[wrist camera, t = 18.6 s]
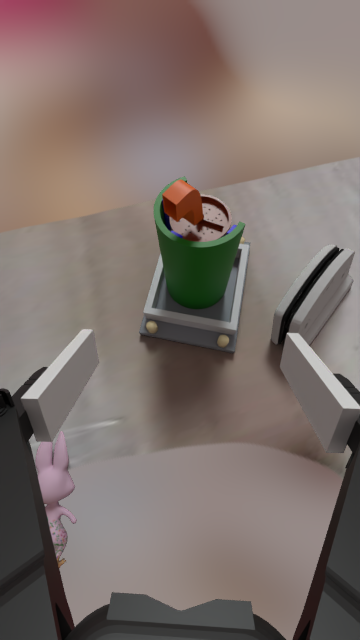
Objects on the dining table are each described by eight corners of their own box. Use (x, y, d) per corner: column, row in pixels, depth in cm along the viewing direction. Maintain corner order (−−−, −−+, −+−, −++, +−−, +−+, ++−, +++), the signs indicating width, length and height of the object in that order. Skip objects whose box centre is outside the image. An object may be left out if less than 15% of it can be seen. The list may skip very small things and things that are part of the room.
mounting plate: (140, 334, 39) (135, 327, 35) (168, 235, 45) (167, 220, 42) (233, 353, 37) (237, 347, 34) (248, 246, 44) (253, 233, 40)
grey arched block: (298, 361, 36) (305, 328, 28) (269, 345, 39) (269, 311, 31) (352, 285, 40) (372, 237, 32) (322, 275, 43) (334, 229, 35)
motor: (234, 279, 40) (272, 166, 21) (206, 321, 38) (220, 236, 19) (184, 251, 43) (178, 128, 24) (154, 289, 40) (122, 186, 22)
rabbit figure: (84, 550, 31) (84, 426, 34) (59, 594, 25) (62, 439, 28) (36, 553, 31) (40, 429, 34) (0, 597, 25) (9, 443, 28)
